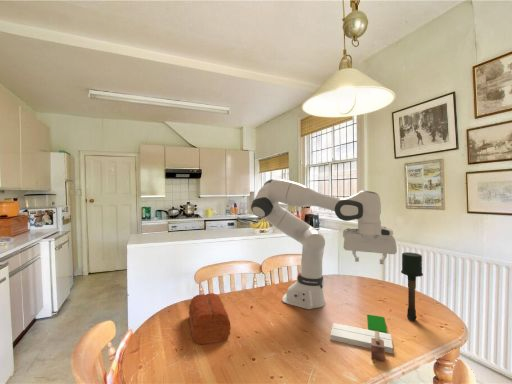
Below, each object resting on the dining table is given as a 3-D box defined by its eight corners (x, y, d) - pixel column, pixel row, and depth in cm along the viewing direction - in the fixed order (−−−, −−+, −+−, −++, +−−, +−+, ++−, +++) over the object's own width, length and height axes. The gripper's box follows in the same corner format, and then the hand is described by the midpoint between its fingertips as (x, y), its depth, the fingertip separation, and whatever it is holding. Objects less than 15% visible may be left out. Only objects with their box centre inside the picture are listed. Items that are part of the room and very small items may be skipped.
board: (330, 339, 103) (330, 334, 103) (333, 327, 113) (333, 322, 113) (392, 353, 95) (392, 347, 95) (390, 339, 104) (390, 334, 104)
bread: (220, 310, 129) (220, 289, 129) (232, 340, 103) (232, 313, 103) (188, 315, 124) (188, 293, 124) (192, 347, 99) (192, 319, 99)
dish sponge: (368, 334, 108) (368, 328, 108) (367, 319, 121) (367, 314, 121) (387, 338, 105) (387, 332, 105) (384, 322, 118) (384, 316, 118)
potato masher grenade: (426, 325, 115) (426, 256, 115) (404, 322, 117) (404, 255, 117) (418, 315, 123) (418, 252, 123) (398, 314, 125) (398, 251, 125)
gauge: (371, 359, 91) (371, 342, 91) (371, 339, 103) (371, 325, 103) (384, 362, 90) (384, 345, 90) (382, 342, 102) (382, 327, 102)
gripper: (342, 229, 110) (342, 261, 110) (397, 232, 102) (397, 267, 102) (343, 227, 116) (343, 258, 116) (395, 229, 108) (395, 263, 108)
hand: (369, 262), depth 109 cm, fingers open, 8 cm apart
